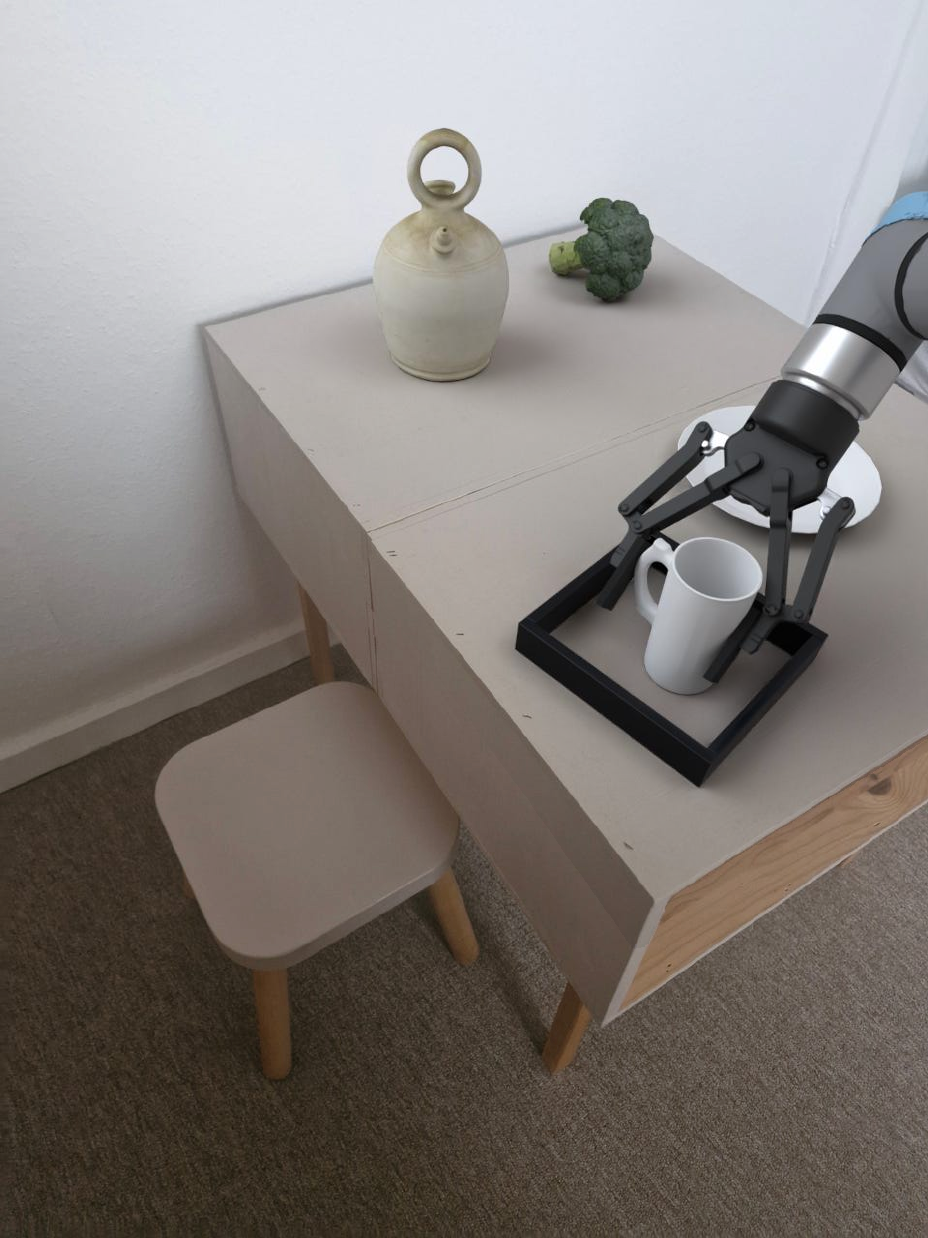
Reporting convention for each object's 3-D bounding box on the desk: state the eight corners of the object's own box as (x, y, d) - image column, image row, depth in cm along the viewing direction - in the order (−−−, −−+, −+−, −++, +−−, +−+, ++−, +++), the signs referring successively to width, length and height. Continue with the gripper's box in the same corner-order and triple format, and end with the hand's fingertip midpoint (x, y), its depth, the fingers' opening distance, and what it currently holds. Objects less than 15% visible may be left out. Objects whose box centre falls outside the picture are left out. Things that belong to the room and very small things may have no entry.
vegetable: (582, 232, 122) (678, 211, 112) (572, 321, 122) (666, 308, 113) (534, 196, 113) (633, 170, 103) (522, 292, 113) (621, 275, 104)
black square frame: (814, 660, 74) (829, 634, 71) (698, 788, 65) (710, 764, 62) (638, 549, 82) (645, 522, 79) (514, 649, 73) (518, 622, 70)
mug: (735, 670, 72) (781, 572, 63) (686, 712, 69) (726, 615, 60) (646, 603, 77) (676, 503, 68) (596, 639, 74) (621, 539, 65)
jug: (399, 312, 109) (396, 94, 90) (515, 334, 107) (537, 115, 88) (357, 375, 99) (344, 145, 81) (484, 400, 97) (502, 170, 78)
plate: (913, 497, 89) (922, 480, 87) (787, 579, 80) (795, 562, 78) (758, 401, 99) (764, 384, 98) (632, 464, 91) (636, 447, 89)
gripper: (959, 483, 63) (782, 725, 67) (705, 358, 73) (564, 576, 77) (966, 456, 56) (769, 726, 60) (685, 323, 66) (532, 563, 70)
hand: (654, 642), depth 69 cm, fingers closed on mug, 10 cm apart
